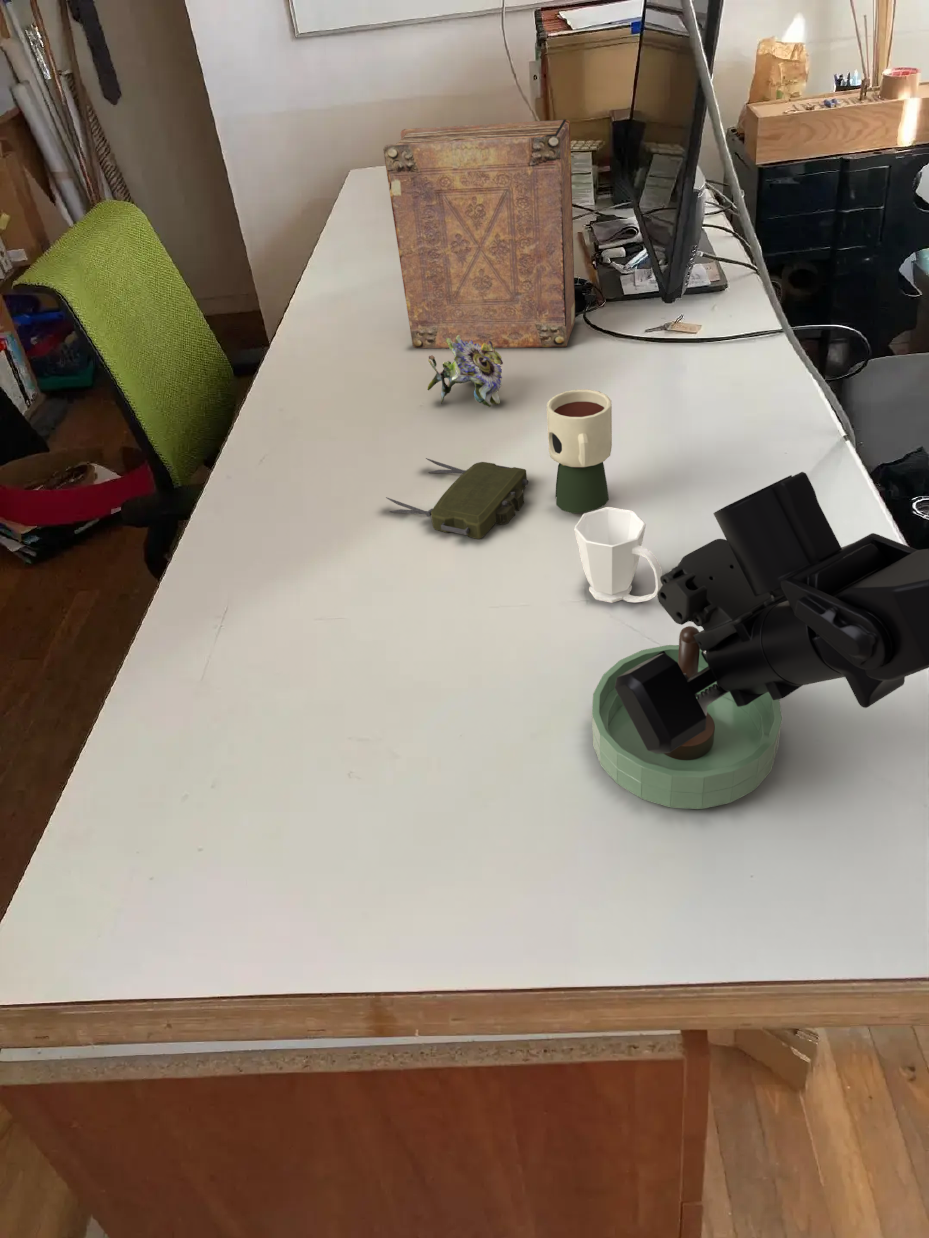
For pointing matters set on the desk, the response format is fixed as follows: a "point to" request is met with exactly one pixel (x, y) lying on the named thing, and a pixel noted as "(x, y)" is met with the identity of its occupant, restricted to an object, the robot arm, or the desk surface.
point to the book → (485, 232)
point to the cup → (613, 553)
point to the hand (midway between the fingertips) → (674, 675)
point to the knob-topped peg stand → (704, 740)
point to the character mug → (580, 447)
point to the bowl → (691, 784)
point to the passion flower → (471, 370)
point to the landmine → (476, 499)
